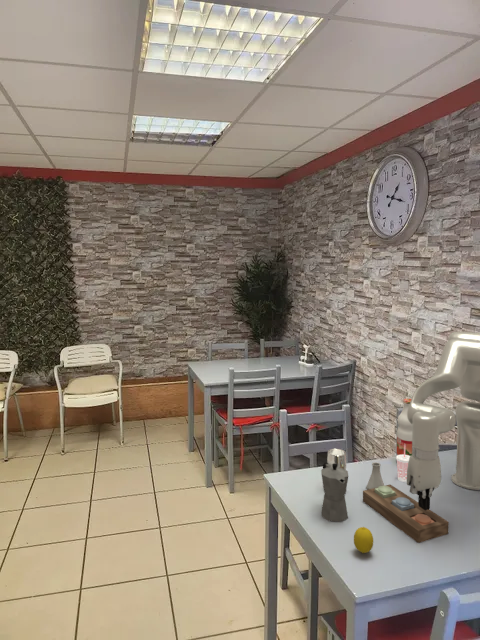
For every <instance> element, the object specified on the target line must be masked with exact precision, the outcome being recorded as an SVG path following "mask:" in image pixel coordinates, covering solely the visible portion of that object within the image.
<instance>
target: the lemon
mask: <svg viewBox="0 0 480 640" xmlns="http://www.w3.org/2000/svg"><path fill="white" fill-rule="evenodd" d="M353 544H354V547H355V548H356V550H357V551H359V552H360V553H361V554H366V553H369V552H371V551H372V549H373V547H374V536H373V533H372V532H371V530H370V529H369V528H367V527H365V526H362V527H361V526H360V527H358V528H356V530H355V532H354V534H353Z"/></svg>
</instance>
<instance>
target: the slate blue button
mask: <svg viewBox="0 0 480 640" xmlns="http://www.w3.org/2000/svg"><path fill="white" fill-rule="evenodd" d="M392 505H394V506H395V507H396V508H398V509H399V510H401V511H405V510H409V509H413V508H414V504H413V503H411V502H410V500H409V499H407V498H403V497H399V498H396V500H392Z"/></svg>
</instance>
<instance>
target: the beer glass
mask: <svg viewBox="0 0 480 640" xmlns="http://www.w3.org/2000/svg"><path fill="white" fill-rule="evenodd" d="M326 459H327V460H326V462H327V463H328V464H330V465H331V467H333V465H332V464H337V467H340V468H342V469H344V470H347V452H346V451H345V450H343V449H341V448H331V449H328V450H327V458H326Z"/></svg>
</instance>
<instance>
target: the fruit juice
mask: <svg viewBox="0 0 480 640" xmlns="http://www.w3.org/2000/svg"><path fill="white" fill-rule="evenodd" d="M411 399H412V398H408V397H407V398H404V399H403V400H402V402H403V404H404V405H403V408H402V411H401V412H400V414H399V415H398V417H397V424H398V427H397V431H396V456H397V455H402V454H403V455H404V445H405V455H409V456H411V455H412V426H413V424H411V423H410V422H409V421H408V417H407V412H408V408H409V404H410V402H411ZM396 462H397V459H396Z"/></svg>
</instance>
